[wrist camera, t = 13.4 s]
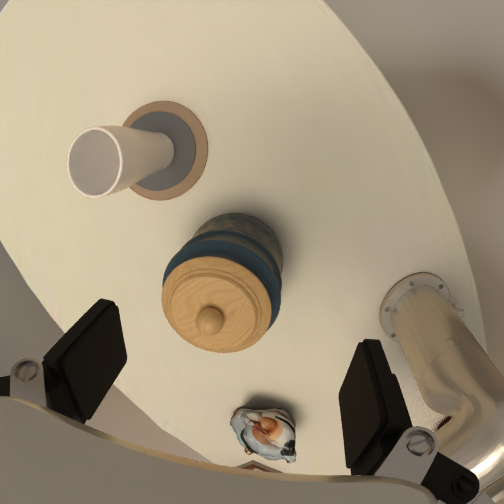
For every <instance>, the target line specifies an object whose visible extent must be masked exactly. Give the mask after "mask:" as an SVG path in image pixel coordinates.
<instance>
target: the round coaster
mask: <svg viewBox="0 0 504 504" xmlns="http://www.w3.org/2000/svg"><path fill="white" fill-rule="evenodd" d="M123 126H124V127H130V128H135V129H140V130H145V131H151V132H160V133H163V134H165V135H167V136H168V137H169V138H170V139H171V141H172V143H173V145H174V157H173V160H172V162H171V163H170V164H169V166H168V167H166V168H165V169H163V170H161V171H158V172H156V173H154V174H152V175H150V176H148V177H146V178H144V179H142V180H141V181H139V182H137V183H135V184H134V185H132V186H130V189H132V190H133V191H134V192H135V193H137V194H139V195H140V196H142V197H145V198H148V199H151V200H169V199H172V198H175V197H178V196H180V195H182V194H183V193H185V192H186V191H188V190H189V189H190V188H191V187H192V186H193V185H194V184H195V183H196V182H197V180H198V179H199V178H200V176H201V174H202V172H203V170H204V168H205V165H206V161H207V155H208V143H207V137H206V133H205V130H204V128H203V126H202V124H201V122H200V121H199V119H198V118H197V117H196V116H195V115H194V114H193V113H192V112H191V111H190V110H189V109H187V108H186V107H184V106H182V105H180V104H177V103H174V102H169V101H158V102H152V103H149V104H146V105H144V106H142V107H140V108H139V109H137V110H136V111H135V112H133V113H132V114H131V115H130V116H129V117H128V119H127V120H126V121H125V123H124V124H123Z"/></svg>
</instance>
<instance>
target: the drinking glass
mask: <svg viewBox="0 0 504 504" xmlns="http://www.w3.org/2000/svg"><path fill="white" fill-rule="evenodd" d="M173 157H174V145H173V143H172V141H171V139H170V138H169V137H168V136H167V135H165V134H163V133H160V132H151V131H145V130H140V129H135V128H130V127H124V126H97V127H90V128H87V129H85V130H84V131H82V132H81V133H80V134H78V135H77V137H76V138H75V139H74V141H73V142H72V144H71V146H70V149H69V153H68V158H67V168H68V174H69V177H70V180H71V182H72V184H73V185H74V187H75V188H76V189H77V190H78V191H79V192H80V193H81V194H83V195H84V196H87V197H90V198H101V197H104V196H107V195H110V194H114V193H116V192H119V191H121V190H124V189H126V188H128V187H130V186H132V185H134V184H135V183H137V182H139V181H141V180H142V179H144V178H146V177H148V176H150V175H152V174H154V173H156V172H158V171H161V170H163V169H165V168H166V167H168V166H169V164H170V163H171V162H172V160H173Z"/></svg>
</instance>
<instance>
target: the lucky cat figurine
mask: <svg viewBox="0 0 504 504" xmlns="http://www.w3.org/2000/svg"><path fill="white" fill-rule="evenodd" d="M230 425H231V426H232V428H233V430H234V431H235V432H236V435H237V438H238V440H239V442H240V444H241V445H242V446H243V447H245V452H246V453H247V454H248V455H251V454H252V453H255V454H258V455H260V456H263V457H264V458H265V459H268V460H279V459H281V458H282V459H285V460H286V461H287V463H293V462H295V461H296V451H295V448H294V447H295V437H296V436H295V422H294V420H293V419H292V418H291V417H290V415H289V413H288V412H287V411H286V410H284V409H283V410H279V409H276V408H273V409H265V410H254V409H237V410H236V411H235V413H234V415H233V416H232V418H231V421H230Z"/></svg>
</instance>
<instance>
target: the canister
mask: <svg viewBox="0 0 504 504" xmlns="http://www.w3.org/2000/svg"><path fill="white" fill-rule="evenodd" d="M282 268H283V256H282V250H281V247H280V245H279V242H278V240H277V239H276V237H275V235H274V234H273V232H272V231H271V230H270V229H269V228H268V227H267V226H266V225H265V224H264V223H262V222H261V221H259V220H257V219H255V218H253V217H251V216H247V215H243V214H226V215H221V216H218V217H215V218H213V219H211V220H209V221H208V222H206V223H205V224H204V225H203V226H202V227H201V228H200V229H199V230H198V231H197V232H196V233H195V235H194V236H193V238H192V239H191V240H189V241H188V242H187V243H186V244H185V245H184V246H183V247H182V248H181V250H180V251H179V252H178V253H177V254H176V255H175V256H174V257H173V258H172V259H171V260H170V262H169V264H168V265H167V267H166V270H165V273H164V277H163V290H162V306H163V310H164V313H165V316H166V318H167V320H168V322H169V323H170V325H171V326H172V328H173V329H174V330H175V331H176V332H177V333H178V334H179V335H180V336H181V337H182V338H183V339H185V340H186V341H187V342H189V343H191V344H192V345H194V346H196V347H198V348H201V349H204V350H207V351H211V352H218V353H230V352H236V351H240V350H243V349H246V348H248V347H250V346H252V345H253V344H255V343H256V342H257V341H259V340H260V339H261V337H262V336H263V335H264V334H265V332H266V331H267V330H269V328H270V327H271V326H272V325H273V323H274V322H275V320H276V318H277V316H278V313H279V310H280V305H281V289H282V279H281V273H282Z"/></svg>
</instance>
